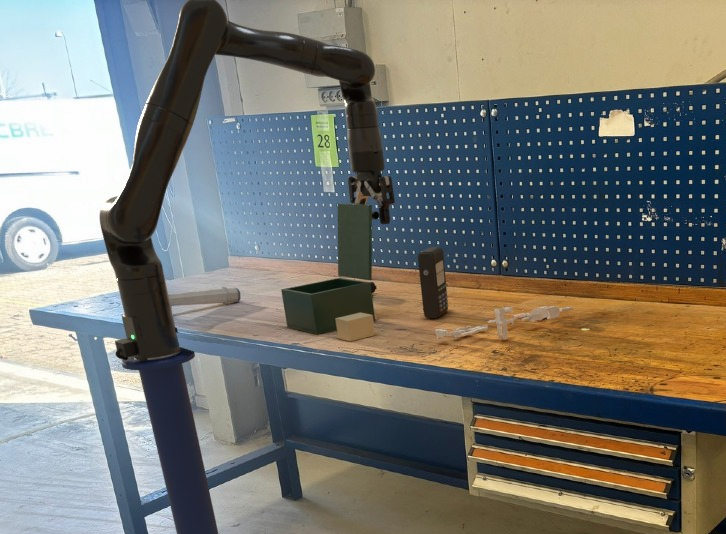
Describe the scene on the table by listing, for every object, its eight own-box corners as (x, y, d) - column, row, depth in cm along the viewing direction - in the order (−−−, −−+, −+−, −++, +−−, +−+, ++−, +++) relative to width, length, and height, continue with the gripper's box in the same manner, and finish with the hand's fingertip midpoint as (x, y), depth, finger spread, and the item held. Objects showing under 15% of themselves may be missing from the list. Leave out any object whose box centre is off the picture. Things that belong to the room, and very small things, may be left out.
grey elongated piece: (468, 350, 161) (423, 352, 169) (574, 322, 187) (531, 325, 195) (462, 316, 160) (418, 320, 168) (571, 292, 186) (527, 297, 193)
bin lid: (369, 204, 188) (389, 206, 192) (337, 203, 196) (357, 204, 200) (368, 280, 192) (389, 279, 196) (337, 275, 201) (357, 275, 205)
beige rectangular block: (350, 341, 178) (347, 320, 177) (338, 338, 181) (335, 318, 180) (375, 335, 182) (372, 314, 181) (362, 332, 185) (360, 312, 184)
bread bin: (316, 334, 186) (310, 294, 183) (287, 327, 194) (281, 289, 191) (375, 320, 196) (370, 282, 193) (344, 314, 204) (339, 277, 201)
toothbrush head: (241, 287, 226) (149, 291, 208) (242, 312, 227) (151, 319, 209) (231, 285, 229) (139, 289, 211) (232, 310, 231) (141, 317, 213)
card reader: (439, 319, 193) (433, 252, 187) (422, 319, 193) (415, 253, 188) (450, 310, 201) (444, 246, 195) (434, 310, 202) (428, 246, 196)
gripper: (334, 151, 194) (343, 224, 200) (370, 149, 184) (379, 226, 190) (361, 148, 199) (370, 220, 205) (398, 147, 189) (406, 222, 195)
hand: (374, 223), depth 197 cm, fingers open, 8 cm apart
